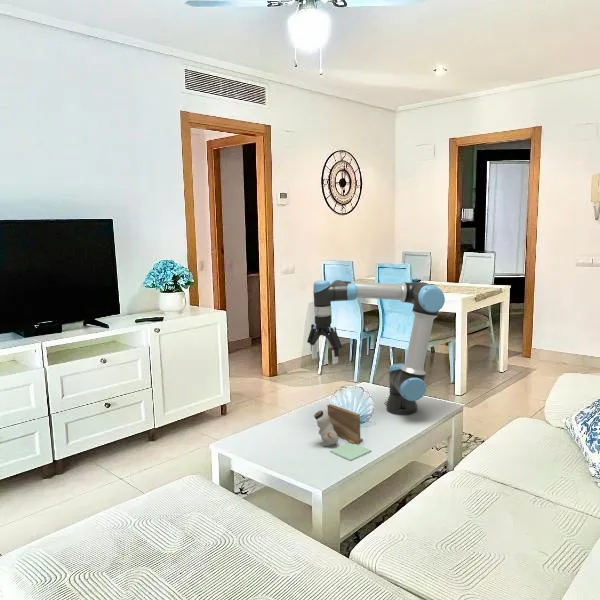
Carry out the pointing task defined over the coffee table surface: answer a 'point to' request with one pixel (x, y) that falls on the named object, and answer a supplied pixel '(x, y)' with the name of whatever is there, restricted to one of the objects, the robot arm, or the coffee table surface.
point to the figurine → (326, 428)
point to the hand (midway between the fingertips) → (324, 360)
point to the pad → (350, 451)
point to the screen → (345, 424)
